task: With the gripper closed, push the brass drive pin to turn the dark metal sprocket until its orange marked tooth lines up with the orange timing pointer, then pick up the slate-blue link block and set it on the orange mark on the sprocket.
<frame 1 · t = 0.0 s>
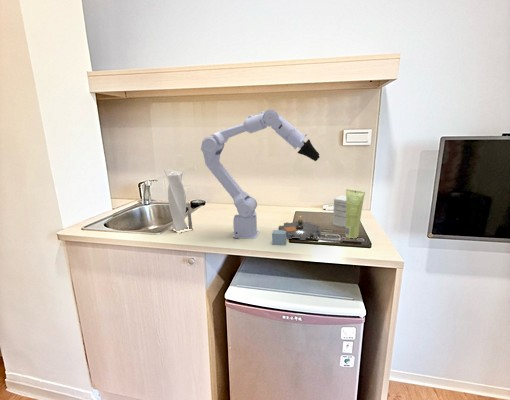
hand: (317, 158, 103), 32 cm above the counter, tool tilted 50°, fingers open, 7 cm apart
skyscraper: (180, 230, 126), on the counter
tube: (352, 238, 111), on the counter
sprocket: (299, 226, 117), point 3 cm above the counter, hinge at 0.0°
timing pointer: (297, 243, 108), on the counter
link block: (279, 244, 108), on the counter
supplement box: (343, 225, 126), on the counter
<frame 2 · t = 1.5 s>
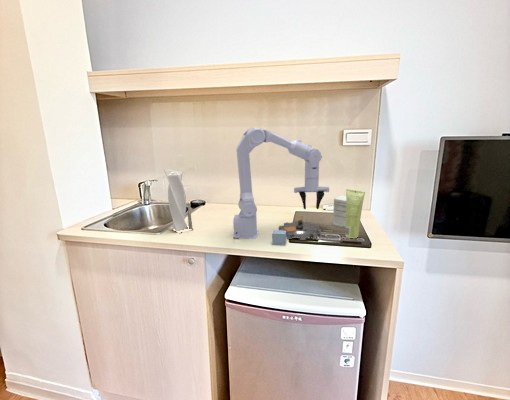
hand: (311, 208, 120), 9 cm above the counter, tool pointing down, fingers open, 5 cm apart
nothing on the counter moved.
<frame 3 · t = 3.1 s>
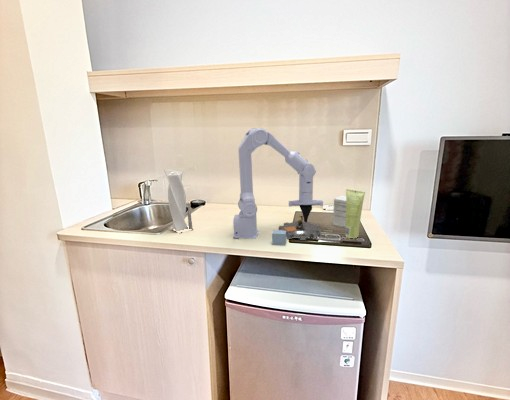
hand: (305, 221, 122), 3 cm above the counter, tool pointing down, fingers closed, pressing on sprocket
sprocket: (299, 226, 117), point 3 cm above the counter, hinge at 0.0°, touching gripper
everything else where it was.
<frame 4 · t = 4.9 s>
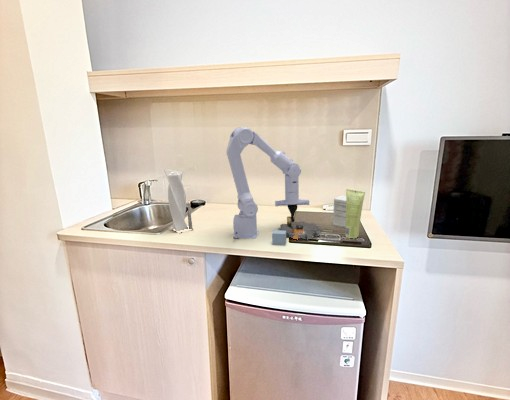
hand: (292, 221, 122), 4 cm above the counter, tool pointing down, fingers closed, pressing on sprocket
sprocket: (299, 226, 117), point 3 cm above the counter, hinge at 53.4°, touching gripper
everything else where it was.
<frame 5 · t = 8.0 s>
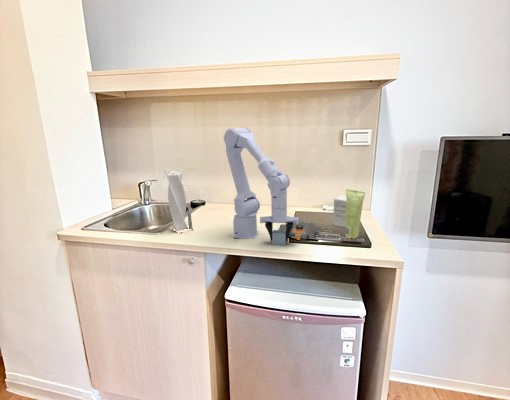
hand: (279, 240, 107), 1 cm above the counter, tool pointing down, fingers closed on link block, 5 cm apart
sprocket: (299, 226, 117), point 3 cm above the counter, hinge at 58.4°
link block: (279, 243, 108), on the counter, touching gripper
everything else where it was.
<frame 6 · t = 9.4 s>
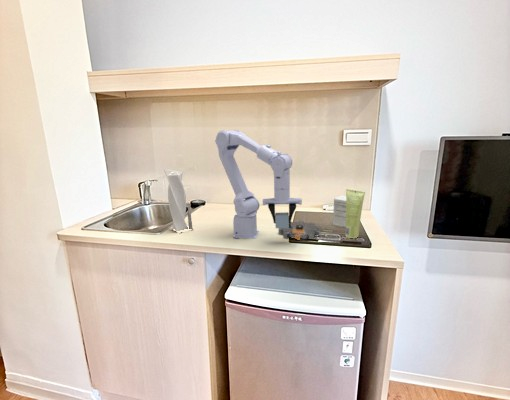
hand: (282, 222, 106), 8 cm above the counter, tool pointing down, fingers closed on link block, 5 cm apart
link block: (282, 226, 107), point 7 cm above the counter, touching gripper
everything else where it was.
when the fingers open (5 cm above the counter, at t = 11.0 s): link block drops 1 cm, resting on sprocket.
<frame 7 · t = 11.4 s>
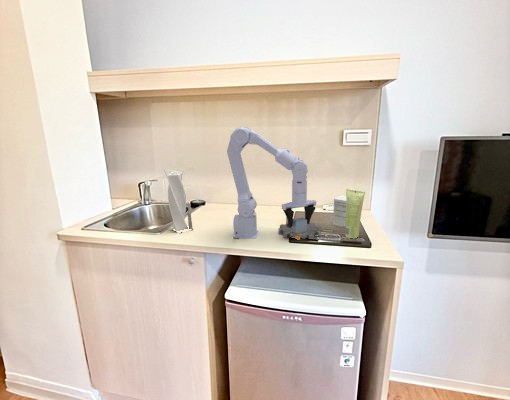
hand: (299, 224, 112), 5 cm above the counter, tool pointing down, fingers open, 7 cm apart
sprocket: (299, 226, 117), point 3 cm above the counter, hinge at 58.4°, touching link block
link block: (299, 231, 113), point 3 cm above the counter, touching sprocket
everything else where it was.
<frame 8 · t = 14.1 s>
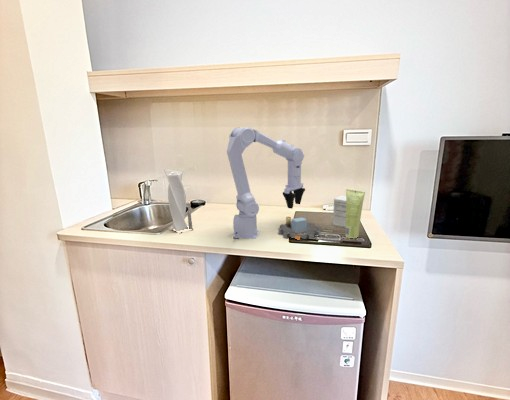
hand: (294, 205, 124), 9 cm above the counter, tool pointing down, fingers open, 7 cm apart
nothing on the counter moved.
at the end: sprocket at +58° (first picture: +0°); link block 0.1 cm from the target spot, point 2.6 cm above the counter; link block tilted 0° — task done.
